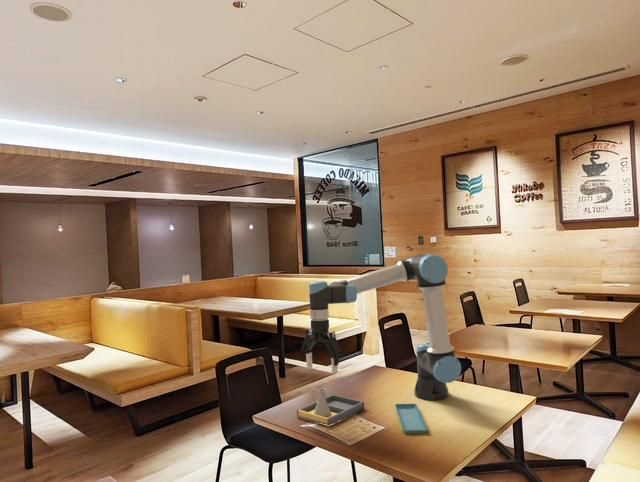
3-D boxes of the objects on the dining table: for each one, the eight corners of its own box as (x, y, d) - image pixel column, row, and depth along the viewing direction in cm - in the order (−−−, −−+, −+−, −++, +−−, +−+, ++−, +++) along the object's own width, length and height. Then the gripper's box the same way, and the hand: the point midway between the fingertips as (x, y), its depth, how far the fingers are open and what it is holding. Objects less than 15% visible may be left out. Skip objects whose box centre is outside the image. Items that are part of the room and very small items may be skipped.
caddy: (364, 408, 193) (364, 401, 193) (329, 427, 175) (328, 419, 176) (333, 401, 204) (332, 394, 204) (297, 417, 187) (296, 410, 187)
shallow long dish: (428, 435, 165) (428, 428, 166) (403, 436, 166) (402, 429, 166) (416, 409, 192) (416, 403, 192) (394, 409, 192) (394, 403, 192)
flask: (329, 418, 181) (328, 393, 181) (311, 417, 183) (310, 392, 183) (332, 411, 188) (331, 387, 189) (315, 410, 190) (314, 386, 190)
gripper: (291, 318, 192) (293, 368, 192) (337, 323, 176) (340, 378, 175) (303, 315, 198) (305, 364, 197) (349, 320, 181) (351, 373, 181)
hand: (322, 371), depth 186 cm, fingers open, 13 cm apart
